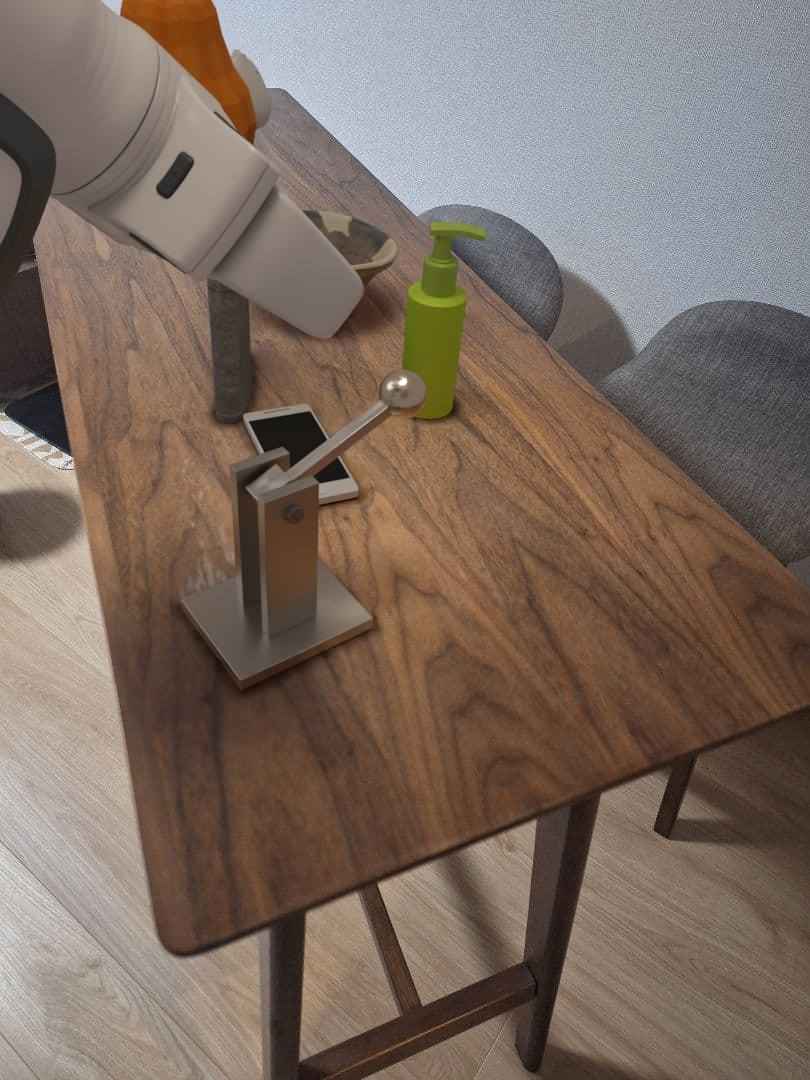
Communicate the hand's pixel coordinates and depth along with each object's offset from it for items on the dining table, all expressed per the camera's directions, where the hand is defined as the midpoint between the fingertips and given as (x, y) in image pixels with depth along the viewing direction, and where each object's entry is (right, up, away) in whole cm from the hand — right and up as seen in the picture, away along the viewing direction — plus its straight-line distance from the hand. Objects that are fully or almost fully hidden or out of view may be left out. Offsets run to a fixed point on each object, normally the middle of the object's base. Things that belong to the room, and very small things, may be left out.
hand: (307, 288), depth 57 cm
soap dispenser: (+9, -1, +43) cm, 44 cm away
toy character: (-23, +58, +106) cm, 123 cm away
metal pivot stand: (-4, -22, +17) cm, 28 cm away
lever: (+2, -9, +11) cm, 15 cm away
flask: (-12, +1, +42) cm, 44 cm away
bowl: (-4, +13, +57) cm, 59 cm away
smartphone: (-4, -8, +34) cm, 35 cm away
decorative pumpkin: (-29, +42, +87) cm, 101 cm away
